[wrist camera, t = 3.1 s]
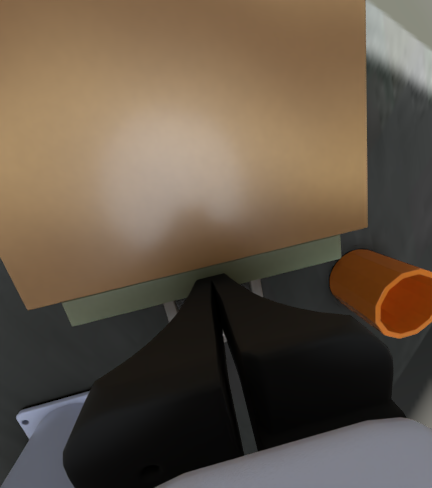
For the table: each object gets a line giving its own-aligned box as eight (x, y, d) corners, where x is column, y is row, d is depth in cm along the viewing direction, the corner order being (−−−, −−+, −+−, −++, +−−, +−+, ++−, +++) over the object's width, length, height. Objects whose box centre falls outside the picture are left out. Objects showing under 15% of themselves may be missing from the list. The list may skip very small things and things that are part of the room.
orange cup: (381, 294, 21) (440, 327, 16) (330, 308, 21) (375, 346, 16) (382, 242, 20) (446, 261, 15) (327, 256, 19) (375, 280, 14)
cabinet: (281, 207, 17) (368, 227, 9) (106, 247, 16) (27, 311, 8) (249, -54, 13) (361, -460, 5) (8, -23, 12) (-376, -478, 4)
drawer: (287, 285, 18) (345, 340, 12) (137, 324, 17) (108, 408, 11) (251, -8, 13) (320, -206, 6) (30, 24, 12) (-155, -171, 5)
